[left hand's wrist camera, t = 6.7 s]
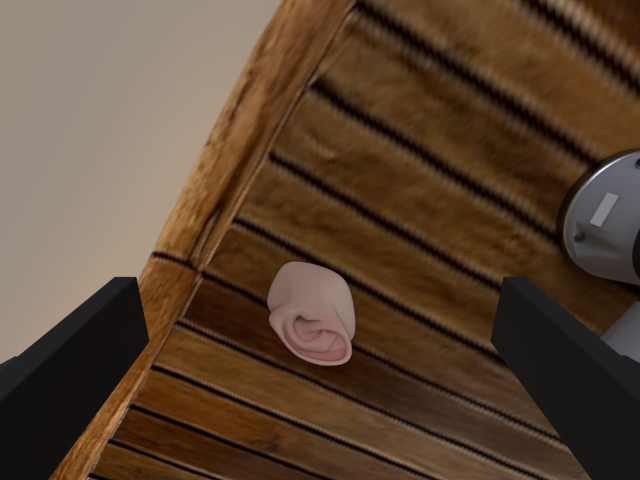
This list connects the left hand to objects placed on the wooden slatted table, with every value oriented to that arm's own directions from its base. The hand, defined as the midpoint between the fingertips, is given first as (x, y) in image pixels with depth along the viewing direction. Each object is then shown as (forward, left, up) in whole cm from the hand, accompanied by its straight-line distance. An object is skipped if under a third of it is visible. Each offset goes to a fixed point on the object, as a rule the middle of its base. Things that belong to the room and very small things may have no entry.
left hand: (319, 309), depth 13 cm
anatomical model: (-7, +16, -29) cm, 34 cm away
